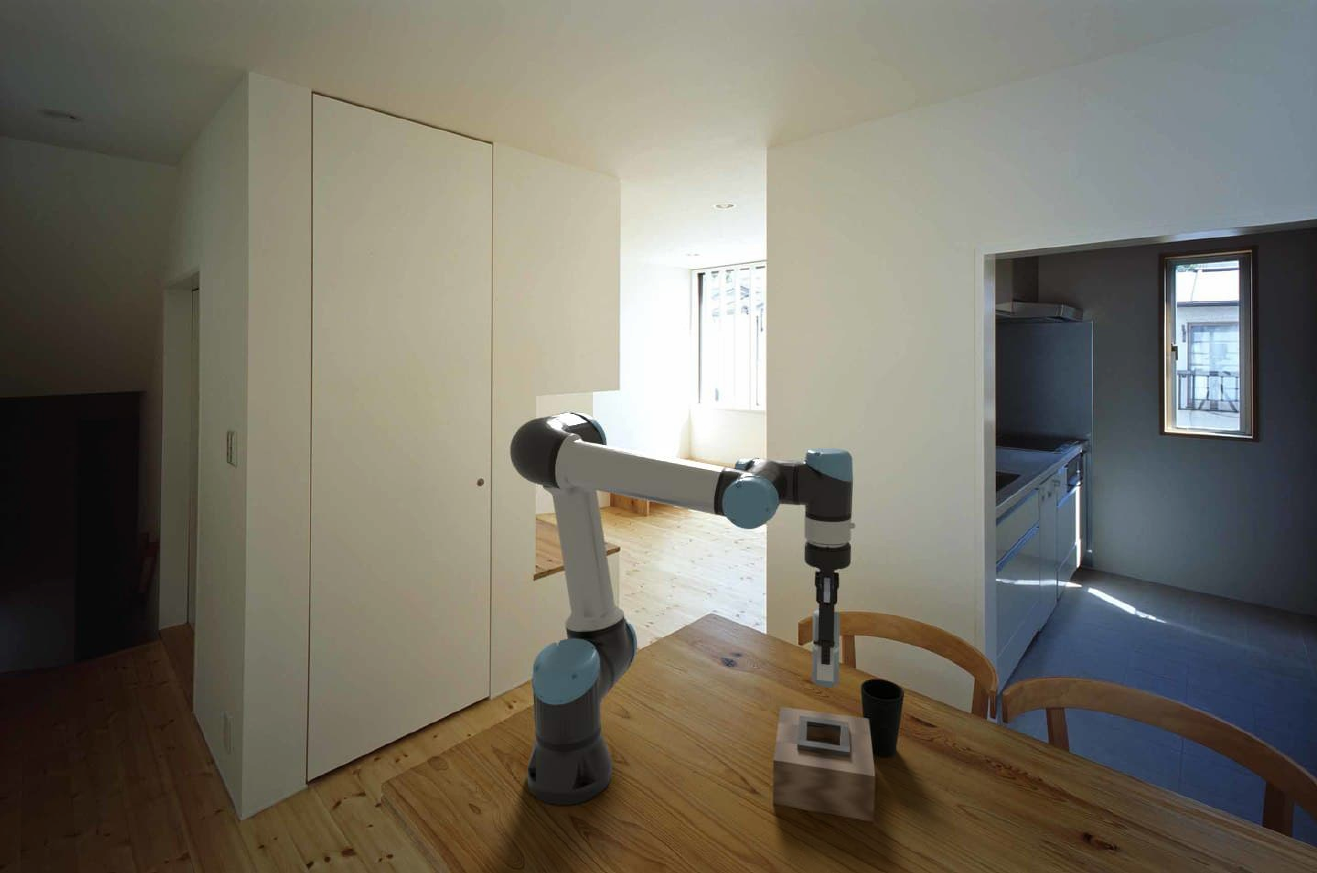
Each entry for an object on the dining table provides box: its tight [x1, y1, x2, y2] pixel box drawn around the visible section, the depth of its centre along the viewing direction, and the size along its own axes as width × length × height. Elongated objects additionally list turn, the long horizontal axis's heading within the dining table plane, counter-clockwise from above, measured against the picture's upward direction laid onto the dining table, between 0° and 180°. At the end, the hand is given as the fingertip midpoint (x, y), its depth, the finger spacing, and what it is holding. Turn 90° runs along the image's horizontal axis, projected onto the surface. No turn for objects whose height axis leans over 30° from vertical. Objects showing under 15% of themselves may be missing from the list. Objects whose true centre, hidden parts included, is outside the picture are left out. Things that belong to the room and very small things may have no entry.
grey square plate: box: [810, 739, 837, 745], centre depth 107 cm, size 5×5×1 cm
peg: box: [811, 609, 841, 689], centre depth 104 cm, size 4×4×12 cm
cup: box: [860, 678, 905, 758], centre depth 115 cm, size 8×8×12 cm
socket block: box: [772, 706, 876, 823], centre depth 107 cm, size 16×16×9 cm
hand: (825, 671), depth 105 cm, fingers closed on peg, 4 cm apart
